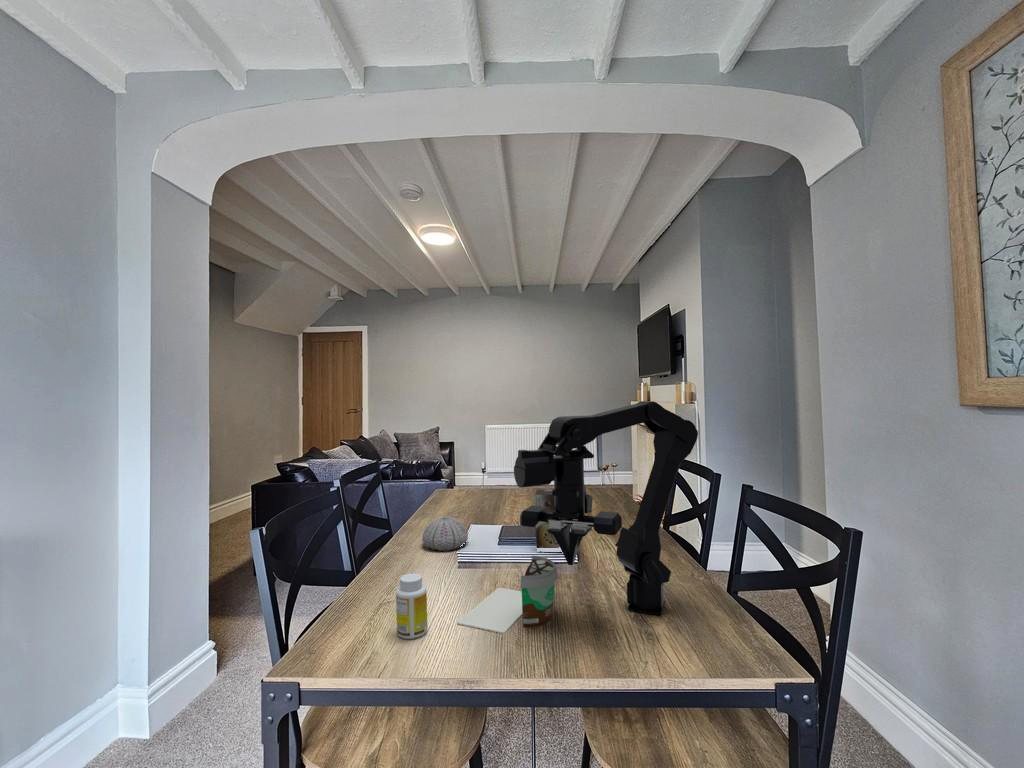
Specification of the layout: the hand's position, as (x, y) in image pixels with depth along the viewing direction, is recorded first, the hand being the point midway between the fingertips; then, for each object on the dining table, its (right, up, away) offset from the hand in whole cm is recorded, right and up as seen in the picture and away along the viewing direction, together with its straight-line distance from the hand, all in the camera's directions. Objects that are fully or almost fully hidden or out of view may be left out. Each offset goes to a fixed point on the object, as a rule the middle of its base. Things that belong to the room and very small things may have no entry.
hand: (571, 564), depth 94 cm
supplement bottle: (-30, -12, -3) cm, 32 cm away
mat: (-13, -11, +6) cm, 19 cm away
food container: (-5, -11, +2) cm, 13 cm away
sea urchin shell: (-30, -13, +48) cm, 58 cm away
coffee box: (0, -12, +43) cm, 44 cm away
